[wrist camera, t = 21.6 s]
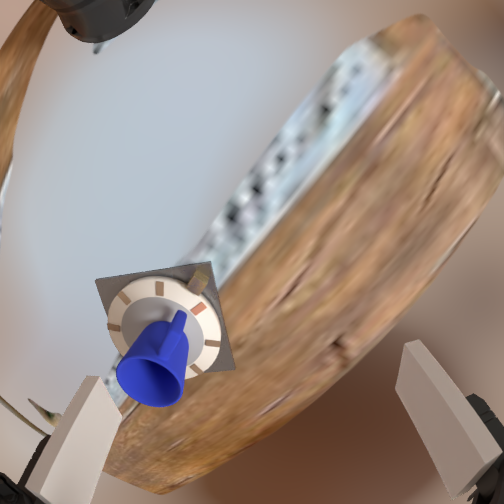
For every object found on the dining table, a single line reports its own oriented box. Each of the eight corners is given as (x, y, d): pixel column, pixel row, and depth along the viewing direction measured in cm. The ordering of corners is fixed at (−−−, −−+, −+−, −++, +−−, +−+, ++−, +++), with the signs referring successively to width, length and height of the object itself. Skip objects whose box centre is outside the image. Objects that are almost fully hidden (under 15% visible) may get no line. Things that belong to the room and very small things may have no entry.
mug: (218, 310, 38) (209, 356, 28) (181, 368, 41) (168, 416, 31) (162, 280, 37) (137, 318, 27) (132, 343, 40) (108, 386, 30)
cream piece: (114, 358, 43) (96, 387, 35) (112, 264, 38) (87, 286, 30) (212, 381, 44) (208, 416, 37) (230, 289, 39) (227, 318, 32)
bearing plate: (96, 278, 39) (87, 286, 36) (210, 261, 39) (208, 269, 36) (133, 373, 45) (128, 384, 42) (235, 367, 44) (234, 379, 41)
